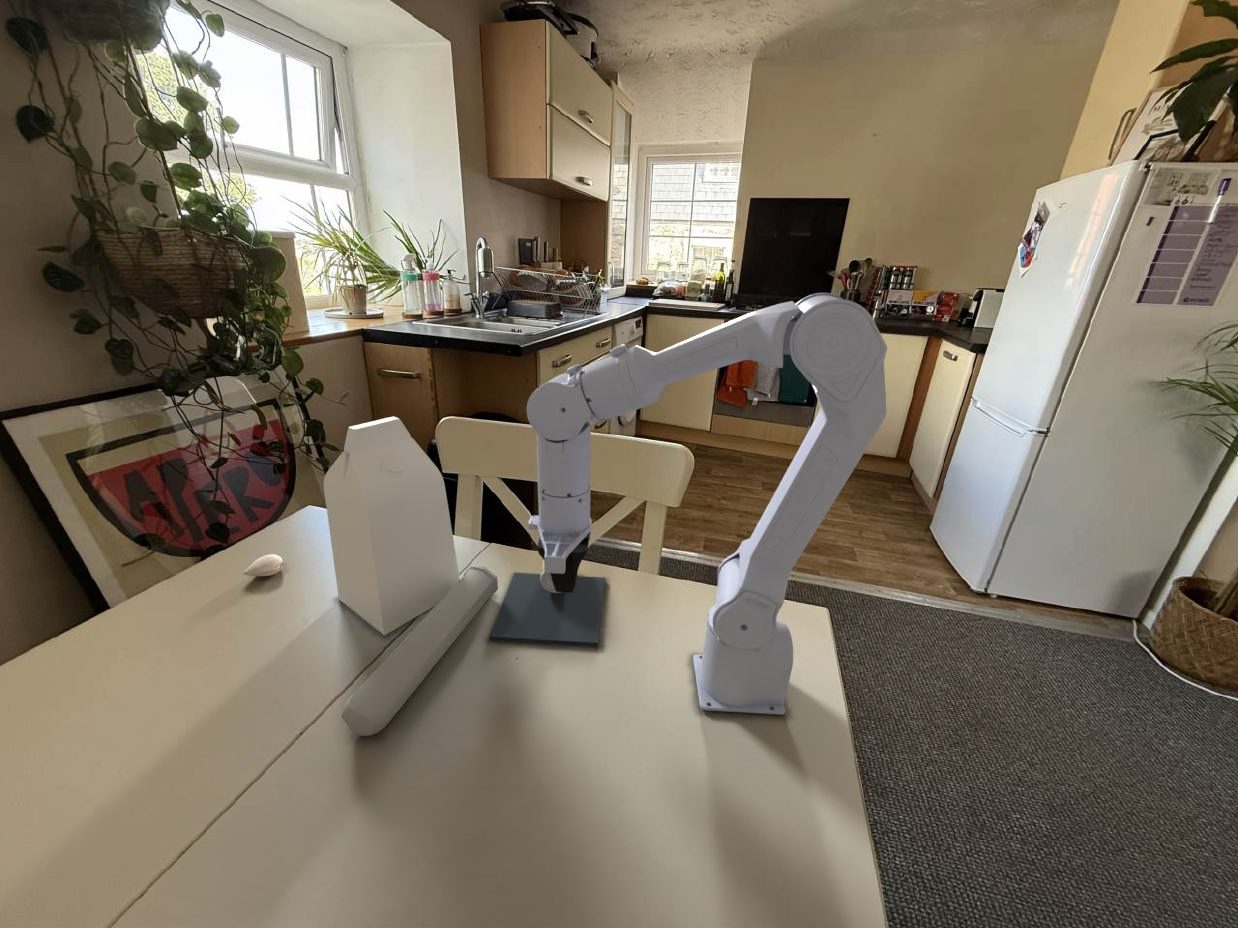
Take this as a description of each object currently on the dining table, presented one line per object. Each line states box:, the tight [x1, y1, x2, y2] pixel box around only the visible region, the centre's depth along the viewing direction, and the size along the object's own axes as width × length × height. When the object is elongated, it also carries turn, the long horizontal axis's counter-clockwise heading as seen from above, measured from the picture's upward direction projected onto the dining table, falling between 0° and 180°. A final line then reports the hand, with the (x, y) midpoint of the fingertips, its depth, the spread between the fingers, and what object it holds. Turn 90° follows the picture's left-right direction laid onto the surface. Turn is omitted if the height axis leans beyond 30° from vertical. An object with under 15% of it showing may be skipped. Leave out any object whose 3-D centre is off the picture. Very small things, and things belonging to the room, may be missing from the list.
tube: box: [340, 564, 499, 737], centre depth 60 cm, size 5×5×25 cm
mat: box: [489, 572, 606, 647], centre depth 70 cm, size 14×14×1 cm
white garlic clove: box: [243, 553, 284, 577], centre depth 74 cm, size 4×5×2 cm
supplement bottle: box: [540, 558, 562, 593], centre depth 75 cm, size 5×5×8 cm
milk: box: [323, 415, 461, 636], centre depth 66 cm, size 12×12×26 cm
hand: (564, 588), depth 59 cm, fingers closed
